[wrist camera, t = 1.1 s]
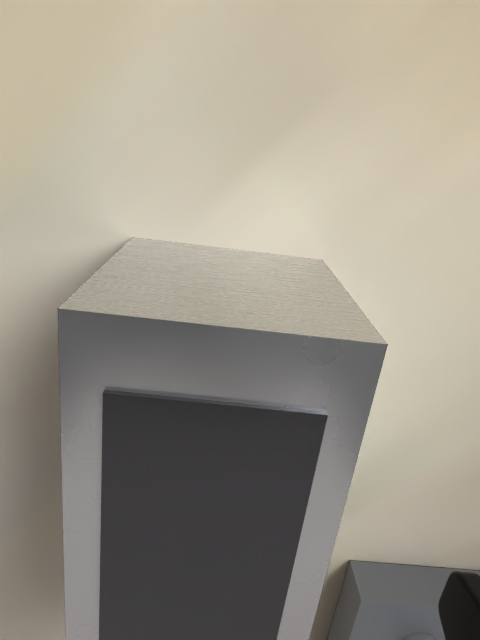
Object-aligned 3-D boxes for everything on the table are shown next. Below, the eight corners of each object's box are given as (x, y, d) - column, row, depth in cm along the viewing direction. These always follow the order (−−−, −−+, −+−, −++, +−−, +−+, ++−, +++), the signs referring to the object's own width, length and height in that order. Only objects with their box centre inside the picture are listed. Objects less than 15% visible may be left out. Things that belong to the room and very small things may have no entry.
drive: (321, 258, 12) (389, 346, 7) (271, 516, 15) (291, 710, 10) (133, 235, 12) (55, 310, 7) (123, 504, 15) (65, 696, 10)
